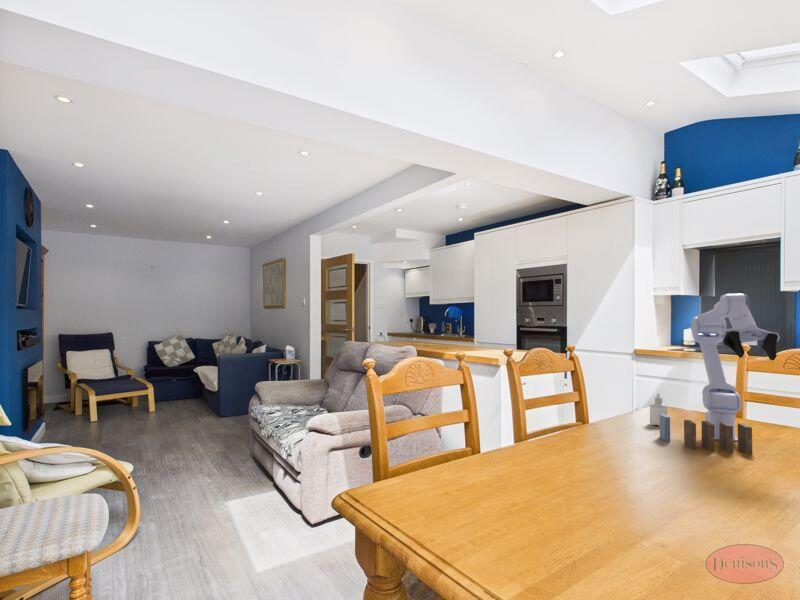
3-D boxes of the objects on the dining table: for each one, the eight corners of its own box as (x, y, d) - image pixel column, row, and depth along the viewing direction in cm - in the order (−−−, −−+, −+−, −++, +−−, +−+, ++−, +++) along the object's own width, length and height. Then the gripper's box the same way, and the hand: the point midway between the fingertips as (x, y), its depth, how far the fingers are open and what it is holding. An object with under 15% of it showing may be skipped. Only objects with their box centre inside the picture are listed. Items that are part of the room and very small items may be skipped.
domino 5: (746, 453, 131) (745, 427, 131) (737, 448, 136) (737, 423, 136) (752, 453, 130) (751, 427, 131) (743, 448, 135) (743, 423, 136)
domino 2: (690, 449, 135) (690, 423, 135) (684, 444, 140) (683, 419, 140) (696, 449, 134) (695, 423, 135) (689, 444, 139) (689, 420, 139)
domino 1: (664, 441, 143) (664, 417, 143) (659, 437, 148) (659, 413, 148) (670, 441, 142) (670, 417, 143) (665, 437, 147) (664, 414, 147)
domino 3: (708, 450, 133) (708, 424, 134) (701, 445, 138) (701, 420, 138) (714, 450, 133) (714, 425, 133) (707, 446, 138) (707, 421, 138)
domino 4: (727, 451, 132) (726, 425, 132) (719, 447, 137) (719, 421, 137) (733, 452, 132) (732, 426, 132) (725, 447, 137) (725, 422, 137)
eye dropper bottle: (663, 427, 160) (663, 395, 160) (648, 424, 164) (647, 393, 165) (669, 426, 162) (668, 394, 163) (653, 422, 167) (653, 391, 167)
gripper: (719, 311, 131) (733, 345, 122) (776, 315, 127) (795, 349, 118) (711, 327, 136) (724, 360, 126) (766, 331, 132) (783, 366, 122)
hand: (757, 356), depth 122 cm, fingers open, 7 cm apart
